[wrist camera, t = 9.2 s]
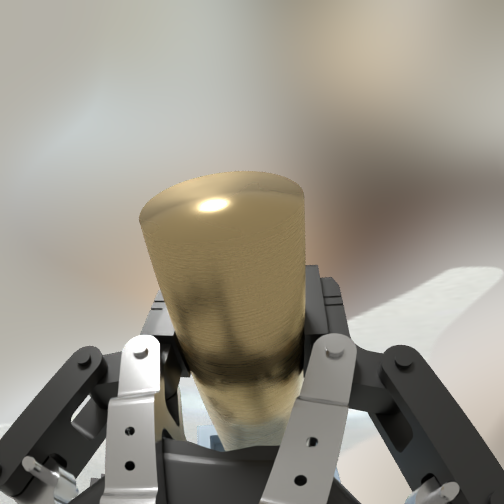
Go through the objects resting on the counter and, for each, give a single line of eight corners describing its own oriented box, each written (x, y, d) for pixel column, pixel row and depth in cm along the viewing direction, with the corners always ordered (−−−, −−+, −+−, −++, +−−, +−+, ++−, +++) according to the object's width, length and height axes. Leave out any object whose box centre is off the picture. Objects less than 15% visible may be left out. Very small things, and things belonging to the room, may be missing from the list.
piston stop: (226, 475, 13) (122, 255, 6) (221, 411, 16) (153, 183, 9) (307, 464, 13) (326, 226, 6) (292, 401, 17) (285, 164, 10)
